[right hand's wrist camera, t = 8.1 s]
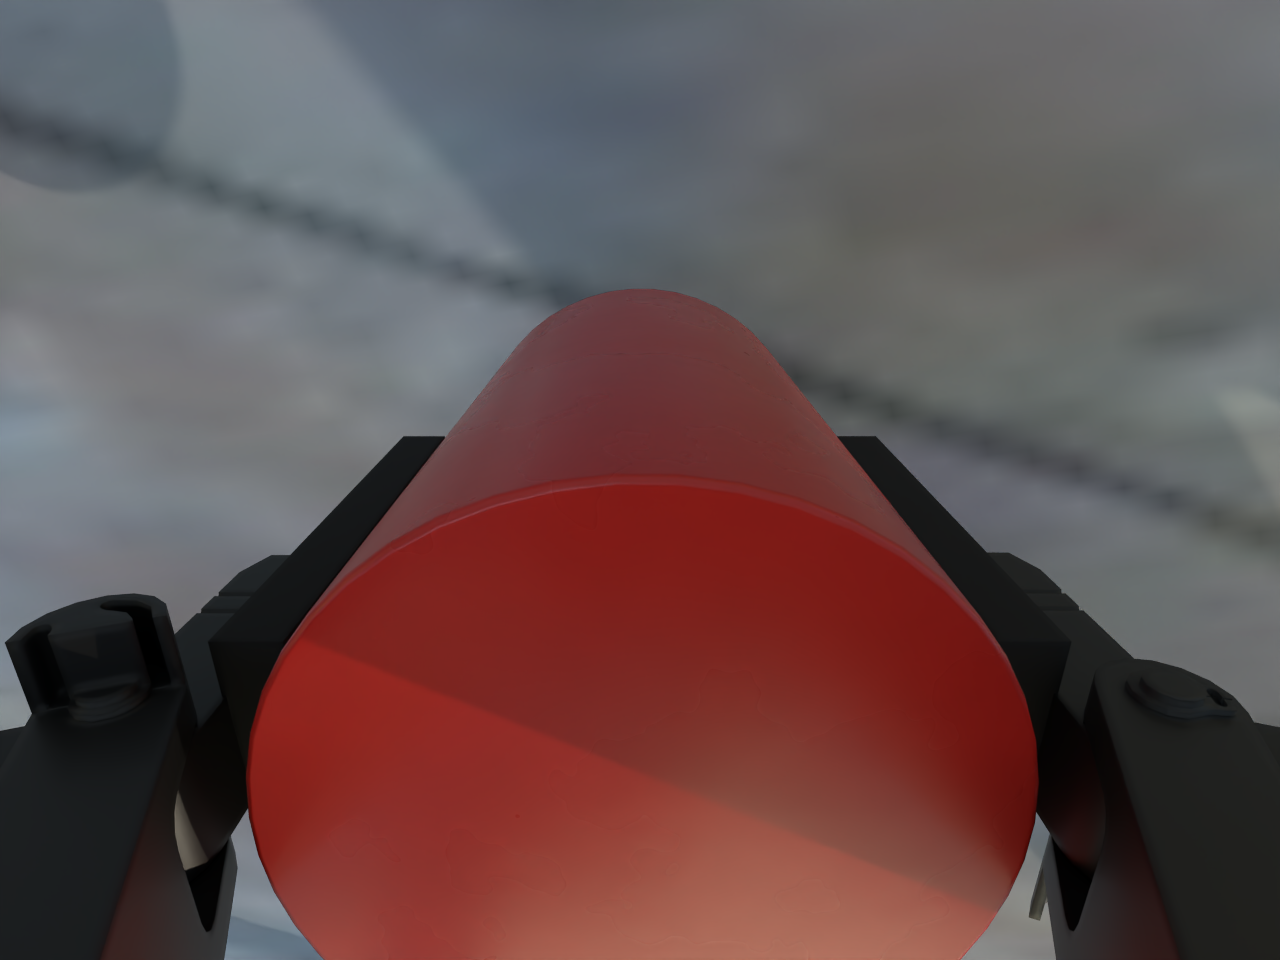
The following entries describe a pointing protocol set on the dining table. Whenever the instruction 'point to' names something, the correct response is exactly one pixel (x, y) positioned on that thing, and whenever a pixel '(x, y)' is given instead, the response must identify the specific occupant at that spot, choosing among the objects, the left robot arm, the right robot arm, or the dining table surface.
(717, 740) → the canister
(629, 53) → the dining table surface
